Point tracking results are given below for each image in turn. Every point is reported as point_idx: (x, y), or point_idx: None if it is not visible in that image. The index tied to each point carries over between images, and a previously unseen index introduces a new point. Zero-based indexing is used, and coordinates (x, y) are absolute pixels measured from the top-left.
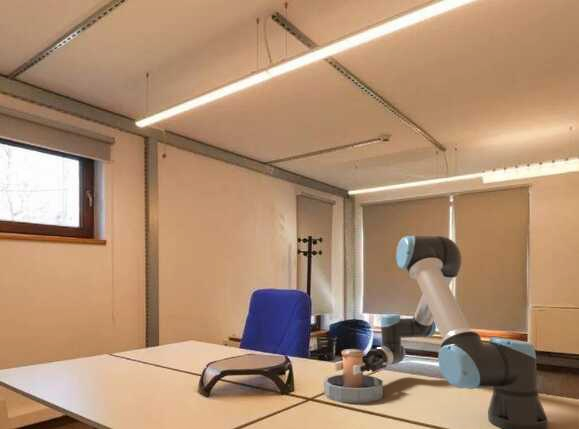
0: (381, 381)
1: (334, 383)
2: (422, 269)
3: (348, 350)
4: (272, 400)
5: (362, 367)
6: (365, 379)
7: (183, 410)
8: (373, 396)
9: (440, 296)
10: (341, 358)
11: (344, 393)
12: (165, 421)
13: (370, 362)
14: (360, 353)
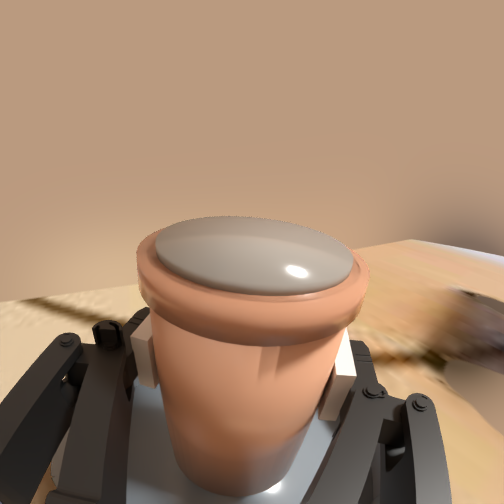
0: (57, 460)
1: (378, 472)
2: None
3: (297, 240)
4: (394, 316)
5: (148, 310)
6: None
7: (415, 261)
8: None
9: None
10: (424, 398)
11: None
12: (387, 246)
13: (83, 381)
14: (160, 231)
